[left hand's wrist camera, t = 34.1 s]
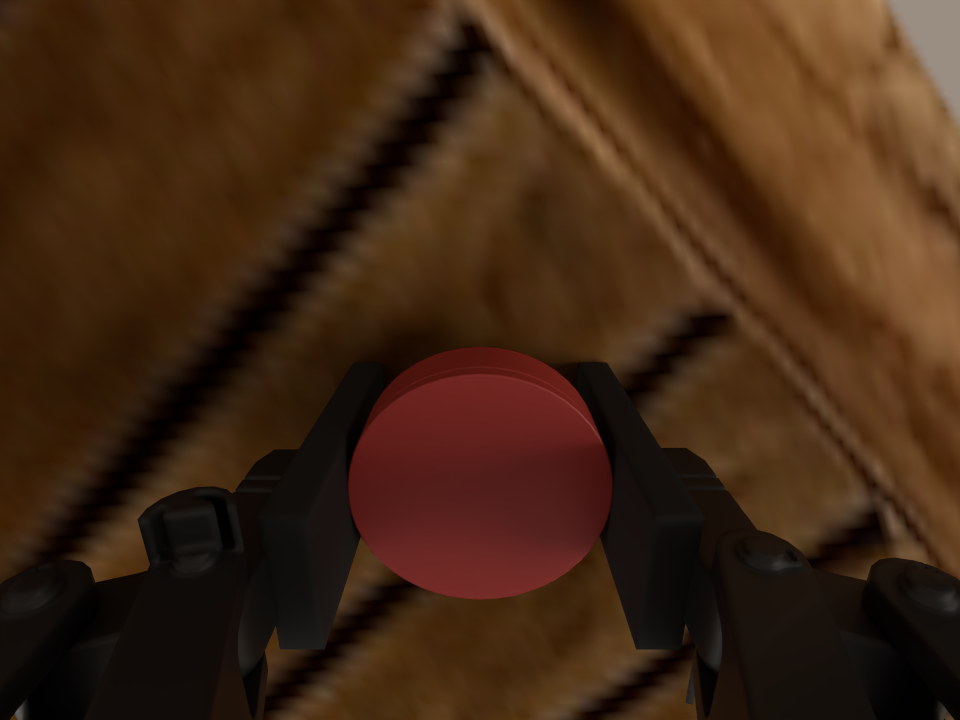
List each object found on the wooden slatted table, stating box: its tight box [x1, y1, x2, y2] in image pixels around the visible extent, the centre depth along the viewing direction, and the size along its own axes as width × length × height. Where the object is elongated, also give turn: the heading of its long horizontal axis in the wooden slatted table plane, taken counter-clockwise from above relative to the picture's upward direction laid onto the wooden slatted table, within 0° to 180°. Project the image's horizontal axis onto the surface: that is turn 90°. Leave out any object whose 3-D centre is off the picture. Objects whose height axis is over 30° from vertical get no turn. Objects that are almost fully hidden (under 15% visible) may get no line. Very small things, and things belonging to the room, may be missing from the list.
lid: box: [347, 347, 613, 599], centre depth 11 cm, size 5×5×2 cm
